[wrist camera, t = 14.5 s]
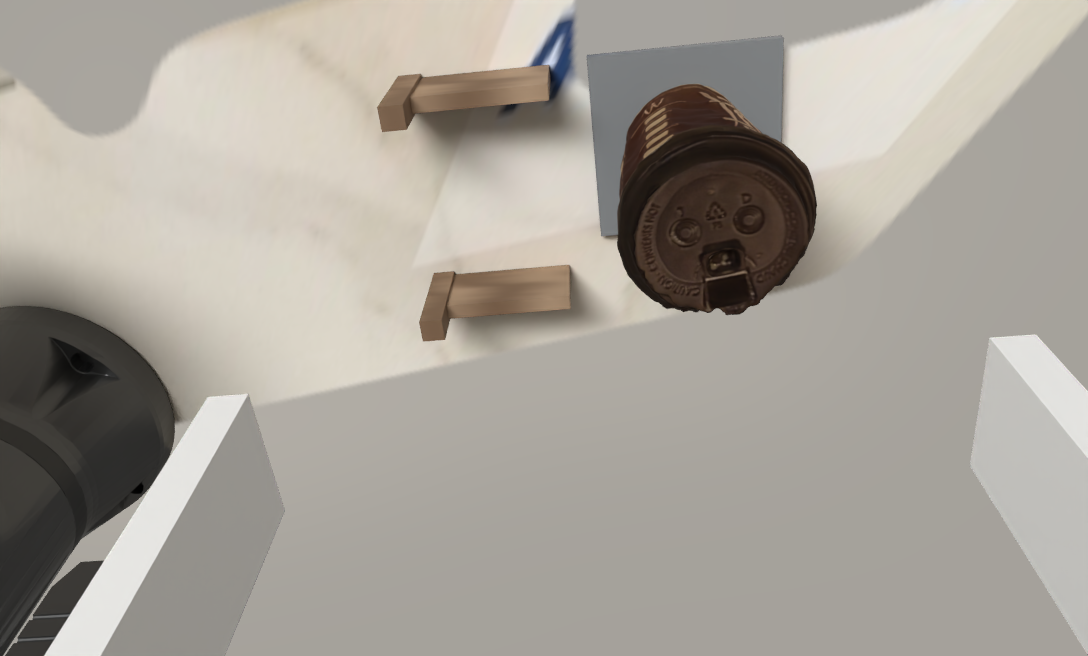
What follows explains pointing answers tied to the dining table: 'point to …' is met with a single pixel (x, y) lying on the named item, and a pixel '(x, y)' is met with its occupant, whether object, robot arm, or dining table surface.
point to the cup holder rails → (484, 288)
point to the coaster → (641, 75)
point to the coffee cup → (709, 204)
